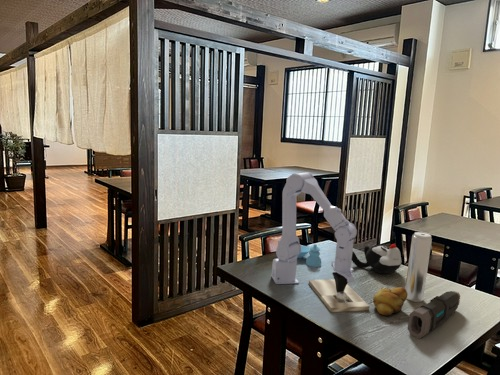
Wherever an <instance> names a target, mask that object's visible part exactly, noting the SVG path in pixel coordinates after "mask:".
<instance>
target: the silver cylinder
mask: <svg viewBox="0 0 500 375" xmlns="http://www.w3.org/2000/svg"><path fill="white" fill-rule="evenodd" d="M432 240H433V238H432V235H431V234H429V233H426V232H418V231H415V232H414V233H413V234H412V236H411V243H410V251H409V258H408V265H407V272H406V280H405V287H404V288H405V289H406V291H407V293H408V295H407V298H406V300H408V301H411V302H413V303H422V302H423V301H424V297H425V296H424V295H425V289H426V282H427V281H426V280H427V276H428V269H429V268H428V267H429V262H430V254H431V250H432V249H431V247H432V242H433V241H432Z"/></svg>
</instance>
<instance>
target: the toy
mask: <svg viewBox="0 0 500 375" xmlns="http://www.w3.org/2000/svg"><path fill="white" fill-rule="evenodd" d="M363 251H364V252H363V253H364V257H365V262H363V261H361V260H360V259H359V258H358V257H357V254H356V252H354V251H353V252H352V261H351V262H352V263H353V264H354V265H355V266H356V267H358V268H362V269H364V268H365V269H366V268H369V267H370V268H372V269H373V271H375V272H376V273H377V274H379V275H383V274H392V273H394V272H395V271H397V270H398V269H399V268H401V265H402V257H401V256H402V255H401V251H400V249H399V248H398V247H397V245H396V244H395V243H392V244H391V245H390V246H389V247H388V246H386V245H378V246H376V245H374V246H371V247H369V246H368V245H366V246H365V247H364V248H363Z"/></svg>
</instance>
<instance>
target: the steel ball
mask: <svg viewBox="0 0 500 375" xmlns="http://www.w3.org/2000/svg"><path fill="white" fill-rule="evenodd" d="M347 299H348V296H347V294H346V293H345V292H343V291H340V292H338V293H337V295H336V300H337V301H338V302H339V303H343V302H347V301H348V300H347Z"/></svg>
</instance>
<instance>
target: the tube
mask: <svg viewBox="0 0 500 375" xmlns="http://www.w3.org/2000/svg"><path fill="white" fill-rule="evenodd" d="M460 300H461V295H460V293H459V292H457V291H454V290H449V291H445V292H444V293H442V294H441V295H436V296H435V297H433V298H432V299H430V300H429V302H428V303H426V304H425V303H424V304H421V305H420V306H419V307H418V308H416V309H414V310H413V311H411V312H410V313H409V317H408V322H407V330H408V332H409V334H410V335H411V336H413V337H415V338H417V339H422V337H424V336H426V335H427V334H428V333H429V334H430V332H432V331H433V330H435V329H436V326H440V325H441V324H443V323H444V322H445V321H447V320H448V318H449V316H451V315H452V314H454V313H455V312H456V310H457V309H458V308H459V305H460V303H461V302H460Z"/></svg>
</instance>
